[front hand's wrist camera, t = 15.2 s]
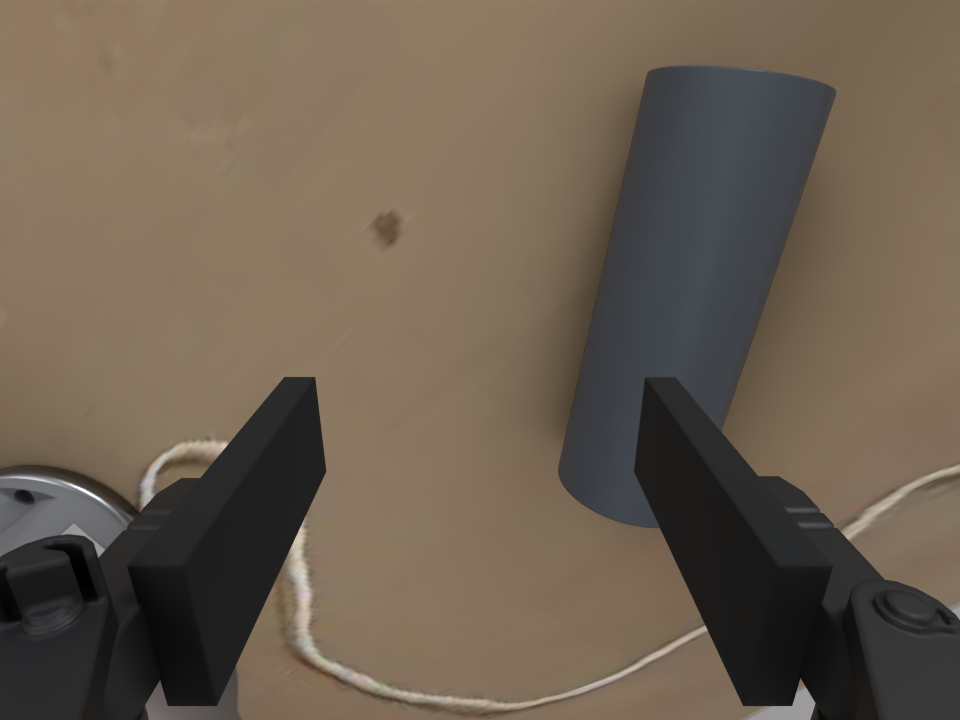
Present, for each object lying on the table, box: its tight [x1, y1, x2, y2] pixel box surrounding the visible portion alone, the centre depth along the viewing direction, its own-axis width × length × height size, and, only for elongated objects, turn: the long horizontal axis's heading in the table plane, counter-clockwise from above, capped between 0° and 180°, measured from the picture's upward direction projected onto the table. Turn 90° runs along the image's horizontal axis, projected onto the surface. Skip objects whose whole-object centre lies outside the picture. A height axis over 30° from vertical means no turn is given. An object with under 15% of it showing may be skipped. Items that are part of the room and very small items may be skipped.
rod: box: [558, 66, 836, 528], centre depth 32 cm, size 24×9×9 cm, turn 172°
